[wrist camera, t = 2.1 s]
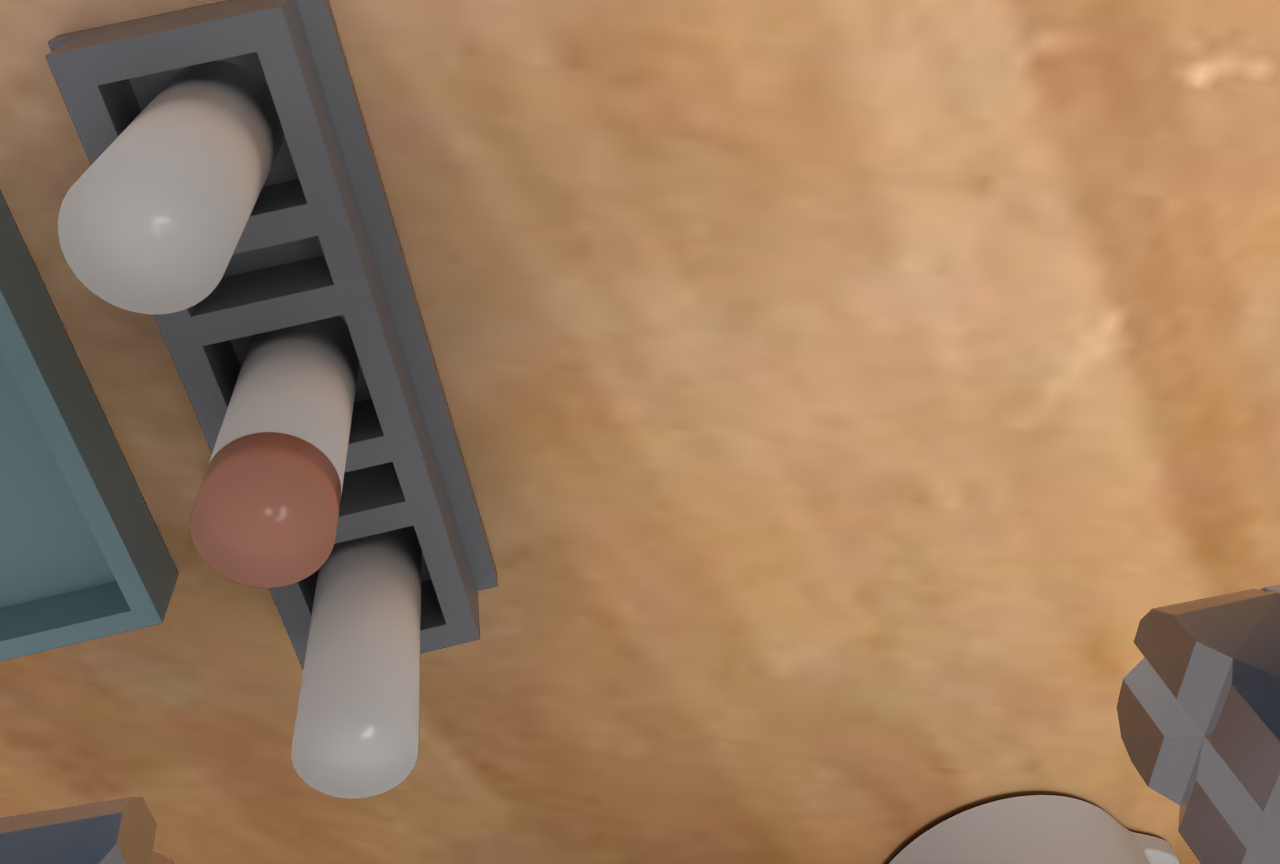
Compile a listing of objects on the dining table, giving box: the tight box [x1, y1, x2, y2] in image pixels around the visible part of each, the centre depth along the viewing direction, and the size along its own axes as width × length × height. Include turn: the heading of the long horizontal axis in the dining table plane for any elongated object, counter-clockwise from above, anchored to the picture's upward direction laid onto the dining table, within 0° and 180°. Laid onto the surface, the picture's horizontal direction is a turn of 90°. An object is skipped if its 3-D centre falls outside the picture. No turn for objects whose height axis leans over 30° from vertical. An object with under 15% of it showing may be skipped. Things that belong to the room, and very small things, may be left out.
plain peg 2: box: [291, 525, 422, 799], centre depth 39 cm, size 4×4×11 cm
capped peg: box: [190, 316, 359, 588], centre depth 35 cm, size 4×4×11 cm
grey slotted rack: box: [45, 0, 498, 669], centre depth 39 cm, size 22×8×4 cm, turn 10°
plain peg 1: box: [58, 61, 284, 315], centre depth 31 cm, size 4×4×11 cm
